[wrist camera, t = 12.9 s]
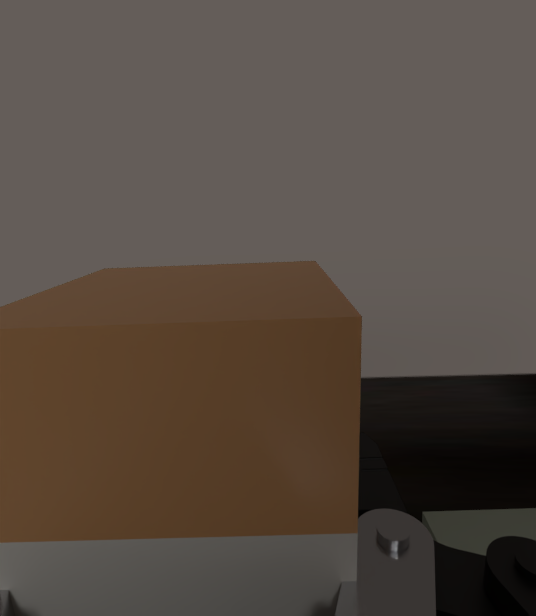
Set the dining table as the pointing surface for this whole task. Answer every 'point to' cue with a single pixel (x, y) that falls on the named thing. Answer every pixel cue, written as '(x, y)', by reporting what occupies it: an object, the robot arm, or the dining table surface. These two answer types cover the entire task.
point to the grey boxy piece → (479, 527)
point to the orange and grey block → (180, 443)
